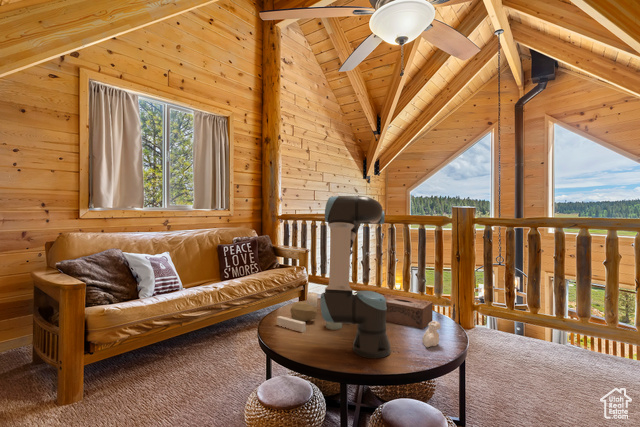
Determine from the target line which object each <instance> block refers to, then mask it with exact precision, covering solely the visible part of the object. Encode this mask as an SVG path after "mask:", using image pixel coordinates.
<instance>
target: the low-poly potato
mask: <svg viewBox="0 0 640 427" xmlns="http://www.w3.org/2000/svg"><path fill="white" fill-rule="evenodd" d="M317 311H318V310H317V308H316V307H314V306H312V305H309V304H307V302H304V301H301V300H300V301H294V302H293V303H292V304H291V307H290V315H291V317H290V318H291V319H294V320H298V321H302V322H308V321H311V320H314V319H316V316H317V315H318V312H317Z"/></svg>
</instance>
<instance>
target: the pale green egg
mask: <svg viewBox="0 0 640 427" xmlns="http://www.w3.org/2000/svg"><path fill="white" fill-rule="evenodd" d="M325 328H327V329H329V330H334V331H335V330H337V331H338V330H341V329H343V323H333V322H326V321H325Z"/></svg>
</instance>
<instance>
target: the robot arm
mask: <svg viewBox="0 0 640 427" xmlns="http://www.w3.org/2000/svg"><path fill="white" fill-rule="evenodd" d="M385 215H386V214H385V210H383V206H382V204H381V203H380V202H379V201H377V200H376V199H374V198H371V197H369V196H363V195H336V196H330V197H329V198H328V199H327V201H326V203H325V209H324V221H325V222H326V223H327V227H329V229H330V248H329V249H330V250H329V251H330V252H329V270H328V272H329V273H328V274H329V275H328V276H329V277H328V285H327V286H326V287H325V288H324V292H322V293H321V294H320V299H319V300H320V312H321V316H322V319H323V321H325V323H326V322H333V323H342V324H345V323H347V324H346V325H357V326H356V329H357V330H356V333H355V336H354V340H353V343H352V350H353V352H354V353H355V354H356V355H358V356H359V357H362V358H368V359H383V358H387V357H388V356H389V355H390V354H391V343H390V341H389V338H388V334H387V321H386V310H387V307H386V299H385V297H384V296H383V294H381V293H379V292H376V291H372V290H359V291H357V293H356V294H353V292H354V290H353V289H352V288H351V286H350V268H351V267H350V266H351V264H350V263H351V255H353V253H354V251H353V249H352V248H353V246H354V242H355V240H356V237H357V234H358V232H359V229H360V226H361V225H383V224H385V218H386V217H385Z"/></svg>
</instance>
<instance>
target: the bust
mask: <svg viewBox="0 0 640 427" xmlns="http://www.w3.org/2000/svg"><path fill="white" fill-rule="evenodd" d="M441 325H442V324H441V323H440V322H439V321H437V320H432V322H430V323H429V324H428V325H427V326H428V328H426V331H425V332H424V333H423V336H422V339H421V341H422V343H423V345H424V346H425V347H426V348H430V347H436V346H437V345H438V344H439V342H440V333H439V332H438V330H441V328H442V327H441Z"/></svg>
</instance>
